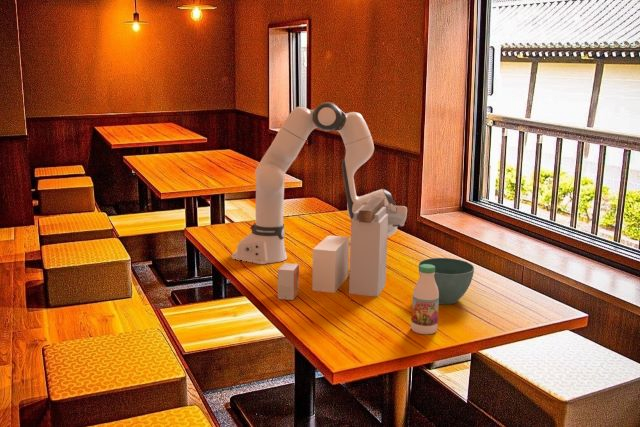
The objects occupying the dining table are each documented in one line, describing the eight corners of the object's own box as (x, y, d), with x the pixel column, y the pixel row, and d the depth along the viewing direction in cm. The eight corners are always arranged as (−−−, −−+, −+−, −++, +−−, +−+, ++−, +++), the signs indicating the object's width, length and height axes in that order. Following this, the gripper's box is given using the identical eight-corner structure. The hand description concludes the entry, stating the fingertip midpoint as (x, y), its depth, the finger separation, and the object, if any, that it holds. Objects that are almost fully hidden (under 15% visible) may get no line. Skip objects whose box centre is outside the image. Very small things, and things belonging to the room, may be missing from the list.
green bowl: (460, 314, 210) (462, 277, 208) (408, 302, 220) (409, 267, 217) (479, 297, 225) (481, 263, 223) (429, 288, 235) (431, 254, 232)
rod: (358, 221, 220) (359, 210, 219) (373, 207, 242) (374, 197, 241) (370, 222, 218) (370, 211, 218) (384, 208, 241) (384, 197, 240)
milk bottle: (408, 325, 200) (411, 262, 196) (433, 324, 201) (437, 261, 197) (414, 335, 193) (417, 270, 189) (440, 334, 194) (443, 269, 189)
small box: (293, 300, 220) (293, 270, 218) (277, 299, 221) (277, 269, 219) (299, 292, 228) (299, 263, 225) (283, 291, 229) (283, 262, 226)
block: (312, 290, 230) (312, 249, 227) (327, 273, 249) (328, 235, 246) (334, 292, 228) (335, 251, 225) (348, 275, 247) (349, 237, 243)
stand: (349, 293, 227) (351, 213, 221) (358, 281, 241) (360, 204, 234) (377, 296, 225) (380, 215, 218) (385, 284, 238) (388, 207, 232)
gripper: (356, 206, 253) (349, 194, 241) (409, 210, 248) (405, 198, 235) (354, 222, 252) (347, 210, 239) (407, 226, 246) (403, 215, 233)
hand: (376, 204), depth 237 cm, fingers open, 8 cm apart
